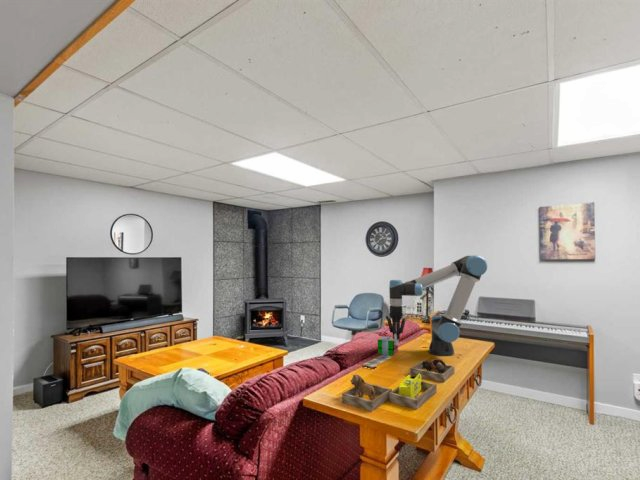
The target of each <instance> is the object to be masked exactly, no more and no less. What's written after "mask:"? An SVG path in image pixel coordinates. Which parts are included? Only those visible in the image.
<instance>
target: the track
mask: <svg viewBox="0 0 640 480" xmlns="http://www.w3.org/2000/svg"><path fill="white" fill-rule="evenodd" d="M392 358H393V357H392V356H389V358H382V355H379V356H377V357H375V358H373V359H371V360H369V361H366V362H365V363H363V364H361V368H364V367H367V368H366V369H368V368H370V369H369V370H372V369H374V370H376V369H378V368H377V367H378V365H379V364H381V363H384V362H386V361H387V360H389V359H392ZM375 368H376V369H375Z"/></svg>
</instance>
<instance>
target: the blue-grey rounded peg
mask: <svg viewBox="0 0 640 480" xmlns="http://www.w3.org/2000/svg"><path fill="white" fill-rule="evenodd" d="M381 356H382V358H389V357H390V355H388V340H387V339H386V338H384V339H383V340H382V354H381Z"/></svg>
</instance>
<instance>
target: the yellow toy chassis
mask: <svg viewBox="0 0 640 480" xmlns="http://www.w3.org/2000/svg"><path fill="white" fill-rule="evenodd" d="M421 381H422V378H421V375H420V373H419V374H418V375H417V376H412V375H410V374H408V375H407V376H406V377H405V378H404V379H403V380H402V381H401V382H400V383H399V386H398V387H399V395H403V396H407V397H410V398H414V399H416V398H417V397H419V393H420V392H421V391H422V390H421Z"/></svg>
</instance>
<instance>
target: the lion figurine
mask: <svg viewBox="0 0 640 480" xmlns="http://www.w3.org/2000/svg"><path fill="white" fill-rule="evenodd" d="M349 382H350V383H351V385H353V387H356V389H357V390H358V394H359V395H357V396H356V397H360V398H364V396H365V394H367V396H368V398H369V399H368V400H370V401H372V400H373V399H375V398H376V394H375V393H374V392H375V390H374V388H373V386H370V385H367V384H366V383H367V382H365V380H364V378H363V377H362V376H360V375H359V374H356V373H355V374H352V378H351V380H349ZM361 391H362V393H361Z"/></svg>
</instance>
